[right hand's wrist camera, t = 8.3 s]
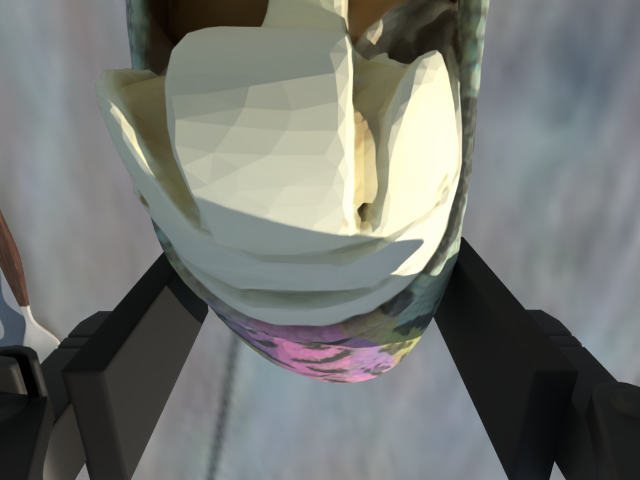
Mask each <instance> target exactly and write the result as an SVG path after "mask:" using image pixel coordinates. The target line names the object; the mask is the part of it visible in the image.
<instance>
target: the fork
mask: <svg viewBox="0 0 640 480" xmlns="http://www.w3.org/2000/svg"><path fill="white" fill-rule="evenodd" d="M0 267H1V269H2V271H3V273H4V275H5V278H6V280H7V282H8V284H9V286H10V288H11V290H12V292H13V294H14V296H15V298H16V300H17V302H18V304H19V306H20V308H21V310H22V313H23V315H24V318H25V322H26V328H25V333H24V338H23V346H27V347H31V348H32V349H33V350H35V351H36V352H37V355H38V358H39V362H40V364H41V363H42V362H43V361H44V360H45V359H46V358H47V357H48V356H49V355H50V354H51V353H52V352H53V350H54V349H58V345H59V344H60V342H59V340H58V339H57V338H56V337H55V336H54V335H52V334H51V333H50V332H48V331H47V330H46V329H44V328H43V327H42V326H40V325H39V324H38V323H37V322H36V321H35V320H34V319H33V317H32V314H31V311H30V306H29V301H28V295H27V289H26V283H25V278H24V273H23V268H22V263H21V259H20V255H19V252H18V249H17V247H16V244H15V242H14V240H13V237H12V235H11V233H10V231H9V229H8V226H7V224H6V222H5V220H4V217H3V215H2V213H1V210H0Z"/></svg>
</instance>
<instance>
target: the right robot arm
mask: <svg viewBox="0 0 640 480" xmlns="http://www.w3.org/2000/svg"><path fill="white" fill-rule="evenodd" d="M207 313H208V304H207V303H206V302H205V301H204V300H202V299H201V298H200V297H198V296H197V295H196V294H195V293H194V292H193V291H192V290H191V289H190V288H189V287H188V286H187V285H186V284H185V283H184V281H183V280H182V279H181V277H180V276H179V275H178V273H177V272H176V270H175V269H174V268H173V266H172V265H171V264H170V262H169V260H168V258H167V256H166V255H165V253H164V252H163V253H162V254H161V256H160V257H159V258H158V259H157V260H156V261H155V262H154V264H153V265H152V266H151V267H150V268H149V269H148V271H147V272H146V273H145V274H144V275H143V276H142V278H141V279H140V280H139V281H138V282H137V283H136V285H135V286H134V287H133V288H132V289H131V290H130V291H129V293H128V294H127V295H126V296H125V297H124V298H123V300H122V301H121V302H120V303H119V304H118V305H117V307H116V308H115V309H114V310H113V311H98V312H97V313H95V314H93V315H92V316H90V317H88V318H87V319H85V320H83V321H82V322H80V323H79V324H78V325H77V326H76V327H75V328H74V329H73V331H72V332H71V333H70V334H69V335H68V338H65V339H64V340H63V341H62V342H61V343H60V344H59V345H58V349H54V350H53V352H52V353H51V354H50V355H49V356H48V357H47V358H46V359H45V360H44V361H43V362H42V363H41V364H40V362H39V358H38V355H37V352H36V351H35V350H33V349H32V348H31V347H27V346H20V345H15V346H5V347H0V480H75V479H76V477H77V475H78V474H79V472H80V470H81V469H82V467H83V465H84V464H85V463H86V466H87V470H88V474H89V478H90V480H131V478H132V476H133V474H134V472H135V469H136V467H137V465H138V463H139V461H140V459H141V456H142V454H143V452H144V450H145V448H146V446H147V443H148V441H149V439H150V437H151V435H152V433H153V430H154V428H155V426H156V424H157V422H158V420H159V417H160V415H161V413H162V411H163V409H164V407H165V404H166V402H167V400H168V398H169V396H170V394H171V391H172V389H173V387H174V385H175V383H176V381H177V378H178V376H179V374H180V372H181V370H182V368H183V365H184V363H185V361H186V359H187V357H188V355H189V352H190V350H191V348H192V346H193V344H194V342H195V339H196V337H197V335H198V333H199V331H200V329H201V326H202V324H203V322H204V320H205V318H206V316H207ZM433 317H434V319H435V321H436V323H437V325H438V328H439V330H440V332H441V334H442V336H443V338H444V341H445V343H446V345H447V347H448V349H449V351H450V354H451V356H452V358H453V360H454V362H455V364H456V367H457V369H458V371H459V373H460V375H461V377H462V380H463V382H464V384H465V386H466V388H467V390H468V393H469V395H470V397H471V399H472V401H473V403H474V406H475V408H476V410H477V412H478V414H479V416H480V419H481V421H482V423H483V425H484V427H485V429H486V432H487V434H488V436H489V438H490V440H491V442H492V445H493V447H494V449H495V451H496V453H497V456H498V458H499V460H500V462H501V464H502V466H503V469H504V471H505V473H506V475H507V477H508V479H509V480H549V479H550V475H551V472H552V468H553V464H554V461H555V462H556V464H557V466H558V467H559V469H560V471H561V472H562V474H563V476H564V477H565V479H566V480H640V387H638V386H635V385H632V384H629V383H624V382H618V381H617V380H616V379H615V378H614V377H613V376H612V375H611V374H610V373H609V372H608V371H607V370H606V369H605V368H604V367H603V366H602V365H601V364H600V363H599V362H598V361H597V360H596V358H595V357H594V356H593V355H592V354H591V353H590V352H589V351H588V350H587V349H586V348H585V347H582V344H581V343H580V342H579V341H578V340H577V339H576V338H575V337H574V336H572V333H571V332H570V331H569V330H568V329H567V328H566V327H565V326H564V325H563V324H562V323H561V322H560V321H559V320H557V319H556V318H554V317H552V316H550V315H549V314H547V313H545V312H544V311H542V310H525V308H524V307H523V306H522V305H521V304H520V303H519V301H518V300H517V299H516V298H515V297H514V296H513V295H512V293H511V292H510V291H509V290H508V289H507V288H506V286H505V285H504V284H503V283H502V282H501V281H500V279H499V278H498V277H497V276H496V275H495V274H494V272H493V271H492V270H491V269H490V268H489V267H488V265H487V264H486V263H485V262H484V261H483V260H482V259H481V257H480V256H479V255H478V254H477V253H476V252H475V250H474V249H473V248H472V247H471V246H470V245H469V243H468V242H467V241H466V240H465V239H464V238H463V237H461V240H460V247H459V252H458V256H457V260H456V263H455V266H454V269H453V272H452V275H451V277H450V280H449V283H448V285H447V288H446V290H445V293H444V295H443V297H442V300H441V302H440V305H439V306H438V308H437V310H436V312H435V314H434V316H433Z"/></svg>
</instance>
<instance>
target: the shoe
mask: <svg viewBox="0 0 640 480" xmlns="http://www.w3.org/2000/svg"><path fill="white" fill-rule="evenodd" d="M489 2H490V0H126V15H127V28H128V36H129V45H130V53H131V62H132V69H130V68H129V69H118V70H106V71H104V72H103V73H102V75H101V76H100V78H99V79H98V81H97V82H96V98H97V101H98V105H99V108H100V112H101V114H102V117H103V119H104V121H105V124H106V126H107V128H108V130H109V133H110V135H111V137H112V140H113V142H114V144H115V147H116V149H117V151H118V153H119V155H120V157H121V159H122V161H123V162H124V164H125V166H126V168H127V170H128V172H129V174H130V176H131V178H132V180H133V190H134V193H135V195H136V196H137V198H138V199H139V201H140V202H141V204H142V205H143V207H144V208H145V210H146V211H147V212H148V214H149V215H150V216H151V220H152V223H153V226H154V229H155V232H156V235H157V237H158V239H159V242H160V244H161V246H162V249H163V251H164V253H165V255H166V256H167V258H168V260H169V262H170V264H171V265H172V266H173V268H174V269H175V270H176V272H177V273H178V275H179V276H180V277H181V279H182V280H183V281H184V283H185V284H186V285H187V286H188V287H189V288H190V289H191V290H192V291H193V292H194V293H195V294H196V295H197V296H198V297H200V298H201V299H202V300H204V301H205V302H206V303H207V304H208V305H209V306H210V307H211V308H212V309H213V311H214V312H215V313H216V314H217V316H218V317H219V318H220V319H221V320H222V321H223V322H224V323H225V324H226V325H227V326H228V327H229V328H230V329H231V330H232V331H233V332H234V333H235V334H236V335H237V336H238V337H239V338H240V339H241V340H242V341H243V342H245V343H246V344H247V345H248V346H250V347H251V348H252V349H253V350H255V351H256V352H258V353H259V354H260V355H261V356H263V357H264V358H266V359H267V360H269V361H270V362H272V363H274V364H276V365H278V366H280V367H282V368H285V369H287V370H290V371H292V372H295V373H297V374H300V375H303V376H306V377H310V378H313V379H316V380H319V381H326V382H331V383H353V382H358V381H363V380H367V379H370V378H374V377H376V376H378V375H380V374H382V373H384V372H386V371H388V370H389V369H391V368H393V367H394V366H395V365H397V364H398V363H400V361H401V360H402V359H403V358H404V357H405V356H406V355H407V354H408V352H409V351H410V350H411V349H412V348H413V347H414V345H415V344H416V343H417V341H418V340H419V339H420V338H421V336H422V334H423V333H424V331H425V330H426V328H427V326H428V325H429V323H430V321H431V320H432V318H433V316H434V314H435V312H436V310H437V308H438V306H439V305H440V302H441V300H442V297H443V295H444V293H445V290H446V288H447V285H448V283H449V280H450V277H451V275H452V272H453V269H454V266H455V263H456V260H457V256H458V252H459V247H460V240H461V230H462V223H463V217H464V213H465V209H466V203H467V197H468V190H469V181H470V176H471V172H472V156H473V152H474V140H475V127H476V111H477V110H476V109H477V100H478V94H479V87H480V71H481V63H482V56H483V47H484V38H485V29H486V20H487V13H488V7H489Z"/></svg>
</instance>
